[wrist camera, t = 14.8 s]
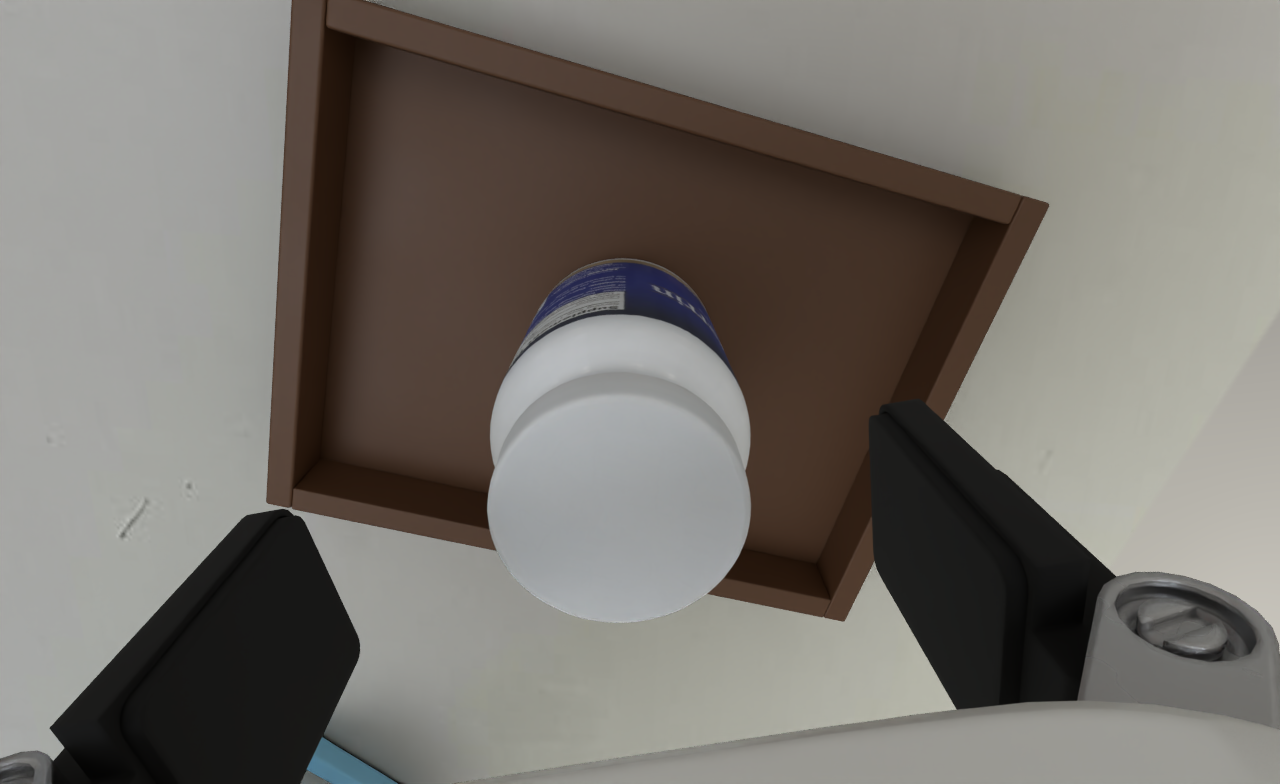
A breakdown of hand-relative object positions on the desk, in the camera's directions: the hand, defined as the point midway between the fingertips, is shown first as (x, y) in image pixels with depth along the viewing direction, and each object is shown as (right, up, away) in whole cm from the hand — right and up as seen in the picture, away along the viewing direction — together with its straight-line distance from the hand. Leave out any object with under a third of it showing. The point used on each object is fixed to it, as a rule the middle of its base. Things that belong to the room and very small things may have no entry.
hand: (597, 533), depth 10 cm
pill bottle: (0, +4, +10) cm, 11 cm away
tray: (0, +4, +10) cm, 11 cm away
